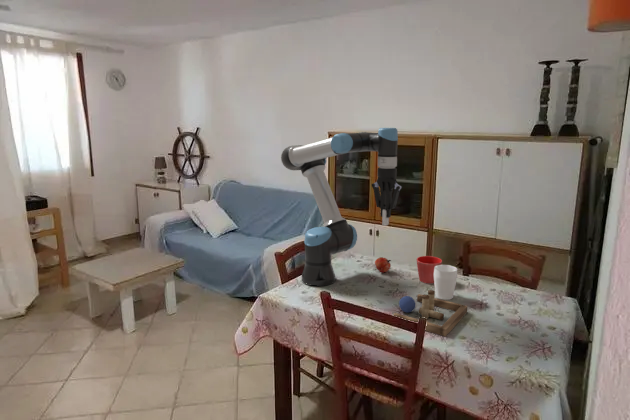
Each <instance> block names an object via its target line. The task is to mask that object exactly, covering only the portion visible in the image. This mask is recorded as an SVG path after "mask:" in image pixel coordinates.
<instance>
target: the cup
mask: <svg viewBox="0 0 630 420" xmlns="http://www.w3.org/2000/svg"><path fill="white" fill-rule="evenodd" d="M457 279H458V268H457V267H455V266H454V265H451V264H441V265H437V266H435V267H434V283H433V285H434V291H435V298H437V299H441V300H445V301H449V300H452V299H453V298H454V293H455V289H456V285H457Z"/></svg>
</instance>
